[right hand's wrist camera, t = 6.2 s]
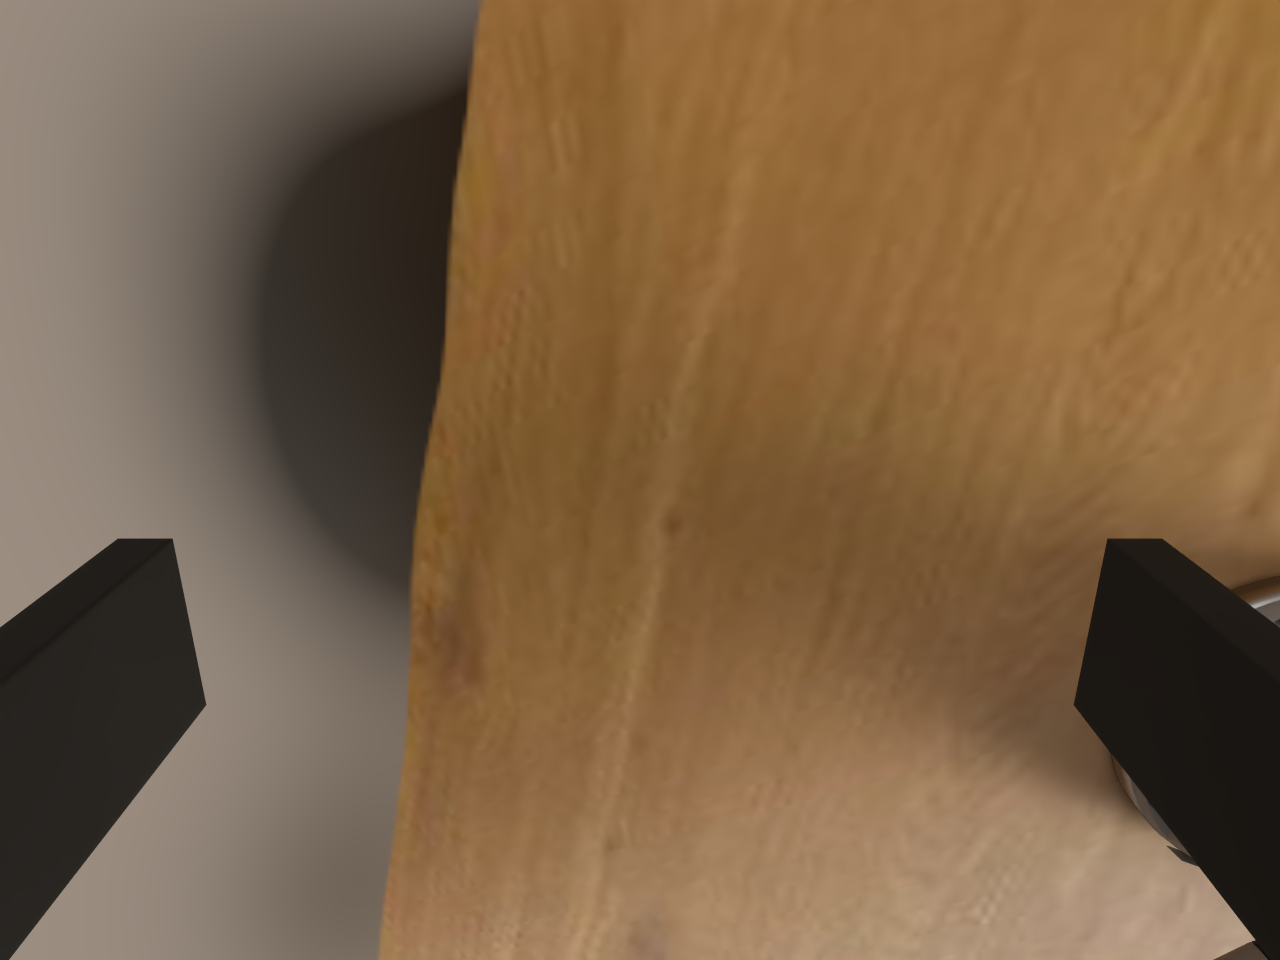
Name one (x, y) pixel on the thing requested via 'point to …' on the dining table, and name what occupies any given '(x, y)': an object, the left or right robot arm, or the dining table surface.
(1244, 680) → the right robot arm
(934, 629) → the dining table surface
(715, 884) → the dining table surface
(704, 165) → the dining table surface
